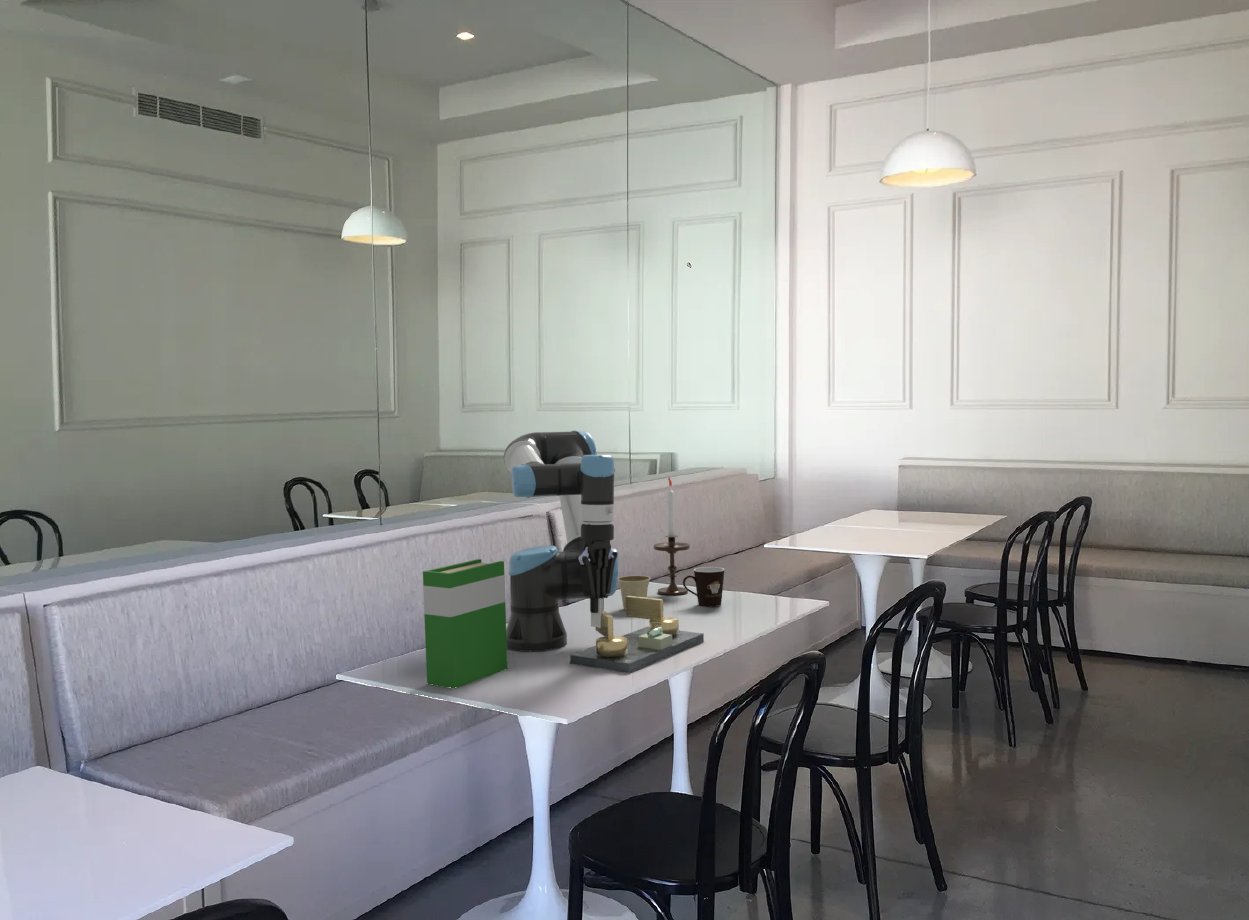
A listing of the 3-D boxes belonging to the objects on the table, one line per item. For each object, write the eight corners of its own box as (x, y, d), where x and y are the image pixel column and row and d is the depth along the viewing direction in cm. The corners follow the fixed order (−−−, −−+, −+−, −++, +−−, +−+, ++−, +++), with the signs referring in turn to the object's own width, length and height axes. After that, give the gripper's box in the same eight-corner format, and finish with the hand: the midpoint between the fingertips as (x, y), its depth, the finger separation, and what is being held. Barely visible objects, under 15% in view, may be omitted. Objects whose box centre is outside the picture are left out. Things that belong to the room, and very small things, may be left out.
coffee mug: (725, 601, 301) (724, 566, 300) (725, 607, 292) (724, 572, 292) (684, 601, 302) (683, 567, 301) (683, 608, 293) (682, 572, 293)
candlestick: (649, 591, 319) (646, 476, 317) (682, 588, 323) (679, 474, 321) (663, 597, 309) (660, 478, 307) (696, 594, 313) (694, 476, 311)
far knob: (684, 631, 255) (683, 598, 254) (668, 637, 249) (668, 603, 248) (635, 625, 262) (635, 593, 262) (619, 631, 257) (619, 598, 256)
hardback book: (481, 664, 237) (478, 559, 235) (507, 668, 233) (504, 561, 231) (427, 684, 222) (422, 571, 221) (453, 688, 218) (449, 573, 217)
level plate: (629, 672, 227) (628, 645, 227) (570, 663, 236) (569, 637, 236) (703, 641, 253) (703, 617, 253) (647, 634, 262) (647, 610, 262)
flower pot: (612, 607, 296) (611, 577, 296) (642, 604, 300) (641, 574, 300) (626, 613, 288) (625, 582, 287) (657, 609, 292) (656, 579, 291)
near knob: (631, 654, 233) (630, 619, 233) (601, 658, 231) (600, 621, 231) (612, 641, 247) (611, 607, 246) (584, 644, 244) (583, 609, 244)
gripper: (593, 525, 231) (593, 632, 232) (626, 522, 242) (626, 624, 242) (566, 523, 236) (566, 628, 236) (600, 520, 246) (600, 621, 246)
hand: (596, 626), depth 239 cm, fingers closed
